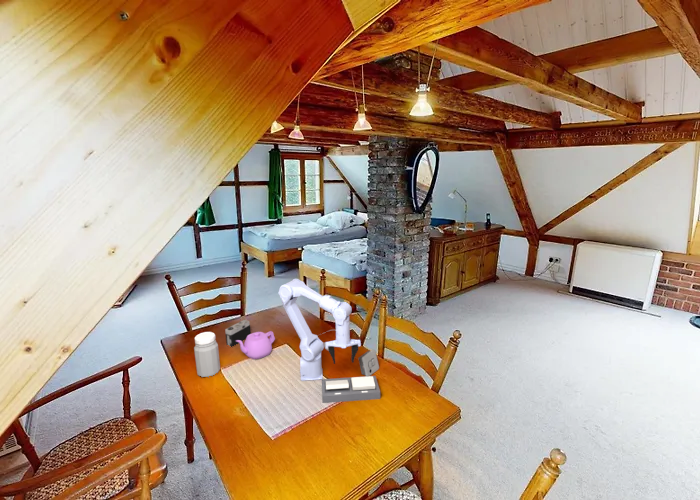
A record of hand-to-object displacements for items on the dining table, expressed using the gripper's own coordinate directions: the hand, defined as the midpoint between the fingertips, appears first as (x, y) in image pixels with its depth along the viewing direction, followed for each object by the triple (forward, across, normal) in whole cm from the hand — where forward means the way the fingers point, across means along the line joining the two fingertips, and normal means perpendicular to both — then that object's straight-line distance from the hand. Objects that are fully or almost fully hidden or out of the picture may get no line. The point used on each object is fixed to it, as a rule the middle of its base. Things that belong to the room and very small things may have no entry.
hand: (343, 361), depth 142 cm
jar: (+10, -60, +15) cm, 63 cm away
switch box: (+10, +2, -6) cm, 12 cm away
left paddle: (+7, -3, -6) cm, 10 cm away
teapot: (+10, -41, +29) cm, 51 cm away
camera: (+10, -54, +44) cm, 70 cm away
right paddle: (+8, +7, -6) cm, 12 cm away
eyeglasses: (+11, -1, +37) cm, 38 cm away
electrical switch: (+11, +12, +8) cm, 18 cm away
